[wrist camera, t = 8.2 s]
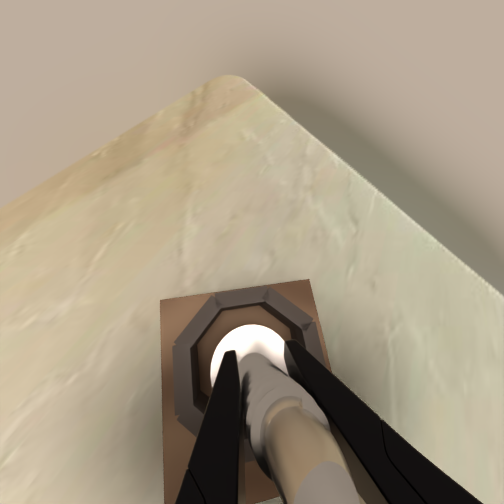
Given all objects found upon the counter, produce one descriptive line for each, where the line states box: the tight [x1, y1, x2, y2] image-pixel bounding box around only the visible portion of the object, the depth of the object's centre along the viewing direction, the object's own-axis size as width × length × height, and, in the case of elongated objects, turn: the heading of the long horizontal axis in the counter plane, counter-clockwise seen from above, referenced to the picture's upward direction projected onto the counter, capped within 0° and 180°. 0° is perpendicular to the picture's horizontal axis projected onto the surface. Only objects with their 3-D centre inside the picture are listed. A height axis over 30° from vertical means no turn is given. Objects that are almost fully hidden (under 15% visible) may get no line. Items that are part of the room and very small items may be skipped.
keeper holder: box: [160, 279, 332, 504], centre depth 14 cm, size 13×12×4 cm
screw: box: [210, 325, 366, 504], centre depth 8 cm, size 13×5×5 cm
